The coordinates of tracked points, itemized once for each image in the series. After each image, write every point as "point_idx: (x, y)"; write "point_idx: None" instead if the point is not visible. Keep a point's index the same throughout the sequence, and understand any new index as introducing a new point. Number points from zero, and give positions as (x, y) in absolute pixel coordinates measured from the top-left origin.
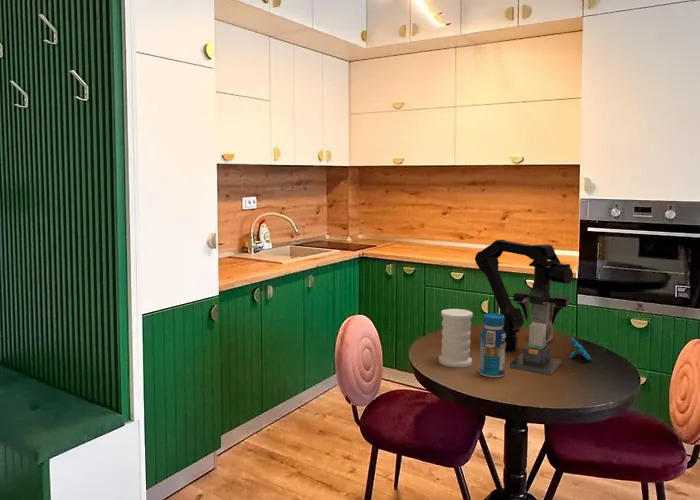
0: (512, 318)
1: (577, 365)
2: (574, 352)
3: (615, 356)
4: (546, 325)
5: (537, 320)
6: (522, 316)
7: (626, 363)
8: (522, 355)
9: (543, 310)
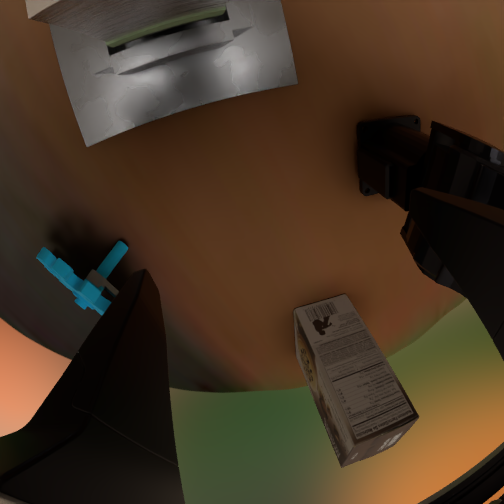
0: (496, 172)
1: (44, 186)
2: (106, 268)
3: (73, 357)
4: (39, 19)
5: (361, 365)
6: (447, 278)
7: (14, 328)
8: (275, 45)
9: (358, 414)
